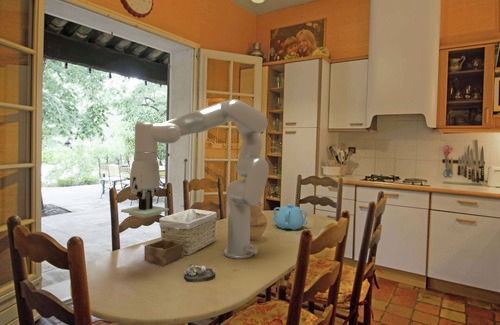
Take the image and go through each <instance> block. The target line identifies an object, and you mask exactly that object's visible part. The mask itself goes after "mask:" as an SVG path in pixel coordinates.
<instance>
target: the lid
mask: <svg viewBox="0 0 500 325" xmlns="http://www.w3.org/2000/svg"><path fill="white" fill-rule="evenodd" d="M141 193H142V192H141ZM145 199H146V210H140V209H139V205H137V206H133V207H128V208H124V209H123V208H122V209H120V212H121V213H126V214H128V215H129V216H132V217H137V218H142V219H146V218H150V217H155V216H160V215H162V213H164V212H168V211H169V210H170V209H169V208H168V207H163V206H157V205H153V208H152V209H150V192H146V191H145Z"/></svg>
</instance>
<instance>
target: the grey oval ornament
mask: <svg viewBox="0 0 500 325" xmlns="http://www.w3.org/2000/svg"><path fill="white" fill-rule="evenodd" d="M183 274H184V275H183V279H184V280H185V281H186V282H187V283H200V282H207V281H211V280H213V279H215V278H216V272H214V271H213V269H212V268H207V267H206V266H205V265H191V266H190V267H188V268H186V270H184V271H183Z"/></svg>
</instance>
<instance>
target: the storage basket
mask: <svg viewBox="0 0 500 325" xmlns="http://www.w3.org/2000/svg"><path fill="white" fill-rule="evenodd" d="M197 216H200V217H199V218H197ZM217 217H218V215H217V212H216V211H211V210H206V209H205V210H204V209H194V208H189V209H186V210H182V211H179V212H175V213H172V214H170V215H166V216H162V217H160V218H158V219H159V229H160V238H161V239H160V240H163V239H165V240H170V241H174V242H179V243H183V256H190V255H193V254H194V253H196V252H198V251H200V250H201V249H203V248H206V247H207V246H209V245H211V244H213V243H214V242H215V241H216V226H217Z"/></svg>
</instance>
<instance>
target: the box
mask: <svg viewBox="0 0 500 325" xmlns="http://www.w3.org/2000/svg"><path fill="white" fill-rule="evenodd" d="M159 248H162V249H159ZM143 256H144V258H143V259H144V262H147V263H151V264H155V265H158V266H162V267H165V266H168V265H170V264H172V263H174V262H177V261H180V260H182V259H183V258H184V255H183V243H179V242H174V241H170V240H165V239H163V240H161V239H160V240H157V241H155V242H152V243H149V244H146V245H144V254H143Z"/></svg>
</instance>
